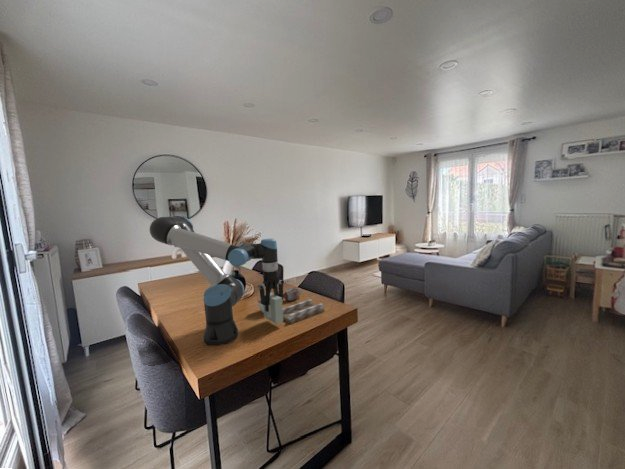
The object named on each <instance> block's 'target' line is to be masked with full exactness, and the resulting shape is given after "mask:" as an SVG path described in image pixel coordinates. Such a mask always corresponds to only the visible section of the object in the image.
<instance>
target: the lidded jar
mask: <svg viewBox="0 0 625 469" xmlns="http://www.w3.org/2000/svg"><path fill="white" fill-rule="evenodd" d="M257 303H258V304H257V305H258V309H259V310H260V311H261V312H262V313H263V314H264V307H263V304H261V298H260V297H258V298H257Z"/></svg>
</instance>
